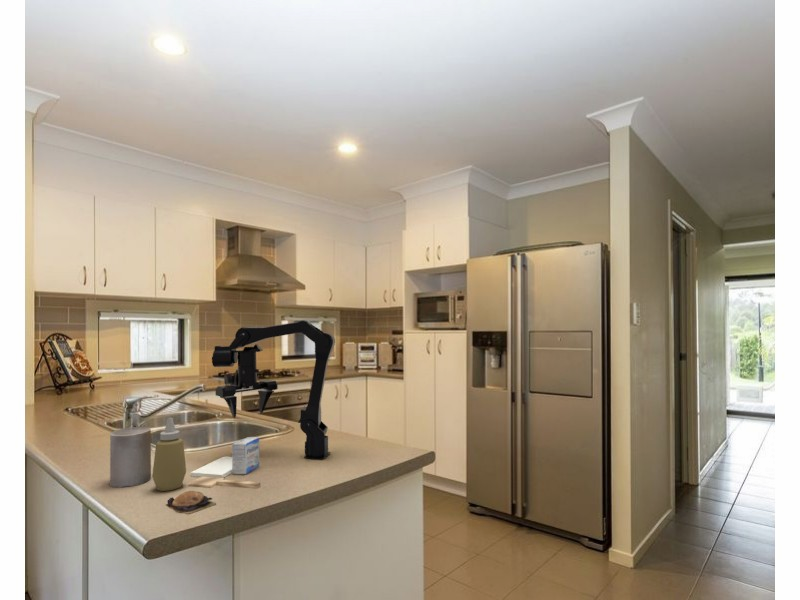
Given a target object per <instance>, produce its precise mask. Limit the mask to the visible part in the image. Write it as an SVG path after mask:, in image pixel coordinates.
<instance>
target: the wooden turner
mask: <svg viewBox="0 0 800 600" xmlns="http://www.w3.org/2000/svg"><path fill="white" fill-rule="evenodd" d="M215 486H220V487H221V486H223V487H236V488H248V489H249V488H250V489H259V488H260V487H261V481H260V482H259V481H248V480H247V481H246V480H233V479H226V477H224V478H216V477H197V479H195V480H192V481H191V482H189V483H187V487H195V488H196V487H197V488H206V489H207V488H208V489H212V488H214V487H215Z"/></svg>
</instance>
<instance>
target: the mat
mask: <svg viewBox="0 0 800 600" xmlns="http://www.w3.org/2000/svg"><path fill="white" fill-rule="evenodd" d="M229 475H232V456H227V455H226V456H222V457H220V458H217V459H215V460H212V462H209V463H207V464H206V465H203V466H201V467H199V468H197V469H195V470H193V471H191V472H190V477H197V478H200V477H216V478H226V477H228V476H229Z"/></svg>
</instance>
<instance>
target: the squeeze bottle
mask: <svg viewBox="0 0 800 600" xmlns="http://www.w3.org/2000/svg"><path fill="white" fill-rule="evenodd" d="M175 426H176V425H175V423H174V418H173V417H167V419H166V424H165V429H164V431H161V432H160V434H159V440H158V441H157V442H156V443H155V449H154V451H155V452H154V459H153V467H152V473H151V478H152V480H153V482H154V485H155V488H156V490H157V491H163V492H164V491H166V492H167V491H172V490H176V489H179V488H181V487H182V485H183V483H184V480H185V476H186V473H187V467H186V466H187V465H186V456H185V446H184V440H183V439H182V438H180V436H181V435H180V430H178V429H176V427H175Z"/></svg>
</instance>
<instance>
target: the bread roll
mask: <svg viewBox="0 0 800 600" xmlns="http://www.w3.org/2000/svg"><path fill="white" fill-rule="evenodd" d="M212 500H213V498H212V497H208V496H207V495H204V493H203V492H200V491H196V490H188V491H185V492H181V494H178V496H176V497H175V498H174V497H169V499H167V503H166V504H165V506H166V507H168V508H169V509H171V510H172V511H175V512H178V513H182V514H185V515H192V514H194V513H197V512H199V511H200V512H201V511H203V510H206V509H209V508H211V507H214V506H217V503H216V502H214V501H212Z"/></svg>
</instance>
